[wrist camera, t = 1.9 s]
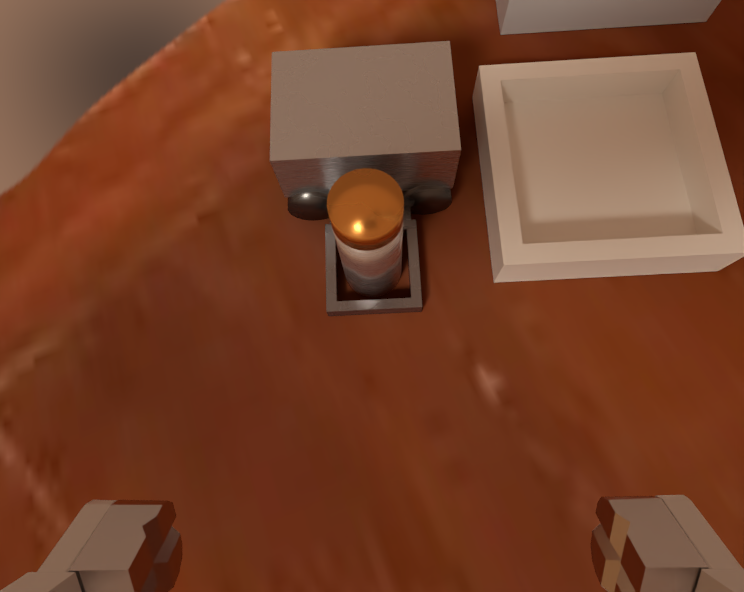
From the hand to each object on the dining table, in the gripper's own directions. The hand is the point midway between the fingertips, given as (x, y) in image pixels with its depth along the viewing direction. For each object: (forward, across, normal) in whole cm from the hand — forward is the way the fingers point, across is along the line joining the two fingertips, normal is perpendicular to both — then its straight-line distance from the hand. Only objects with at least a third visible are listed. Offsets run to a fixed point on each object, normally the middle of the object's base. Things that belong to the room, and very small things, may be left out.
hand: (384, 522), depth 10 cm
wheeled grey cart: (+25, +1, -1) cm, 25 cm away
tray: (+26, -13, -2) cm, 29 cm away
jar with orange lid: (+23, +1, +3) cm, 23 cm away
